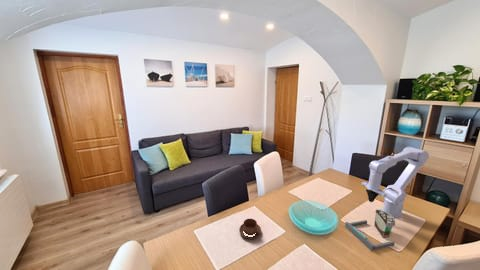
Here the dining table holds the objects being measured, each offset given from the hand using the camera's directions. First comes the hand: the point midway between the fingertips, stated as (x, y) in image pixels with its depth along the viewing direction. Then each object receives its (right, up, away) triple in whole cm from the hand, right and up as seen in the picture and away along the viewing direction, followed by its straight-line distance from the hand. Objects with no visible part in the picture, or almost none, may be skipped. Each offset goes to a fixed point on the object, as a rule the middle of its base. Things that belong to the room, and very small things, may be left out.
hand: (370, 201), depth 114 cm
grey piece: (-9, -14, -12) cm, 21 cm away
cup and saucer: (-74, -14, -10) cm, 76 cm away
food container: (0, -14, -10) cm, 17 cm away
